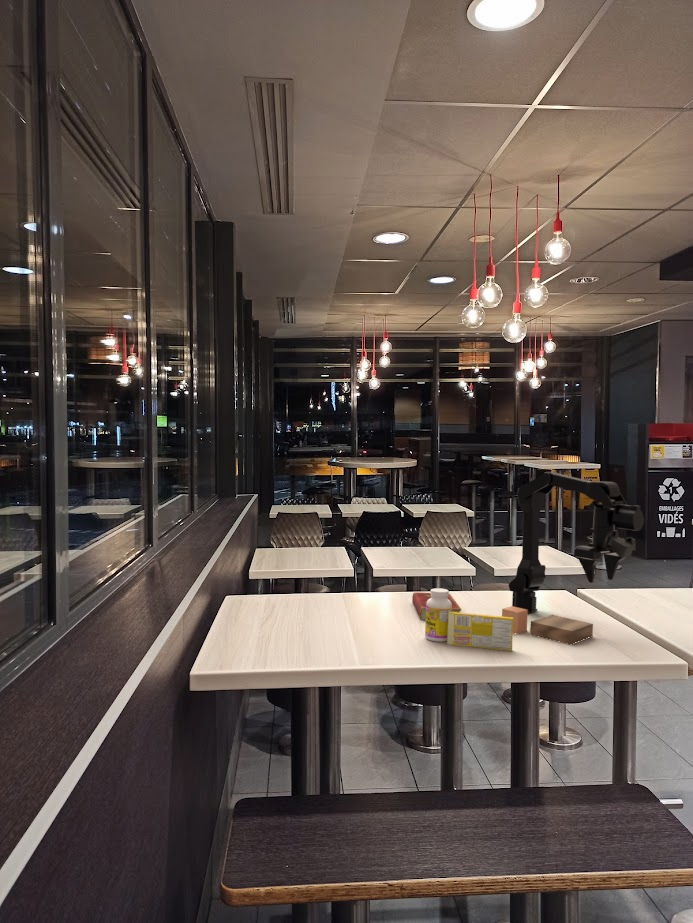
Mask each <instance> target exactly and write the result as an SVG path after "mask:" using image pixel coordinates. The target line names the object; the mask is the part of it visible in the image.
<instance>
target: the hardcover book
mask: <svg viewBox="0 0 693 923" xmlns="http://www.w3.org/2000/svg"><path fill="white" fill-rule="evenodd" d="M430 593H431V592H415V591H414V592H413V593H412V597H411V599H412V601H411V602H412V605H413V608H414V609H415V611H416V613H417V615H418V618H419V619H420V620H421V621H423V620H425V621H426V603H427V600H428V599H430V598H431V594H430ZM448 600H450V601H451V603H452V612H459V613H461V611H462V608H461V607H460V605H459V603H458V602H457V601H456V600H455V599H454V597H453V596H452V594H451V593H449V595H448Z"/></svg>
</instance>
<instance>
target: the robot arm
mask: <svg viewBox="0 0 693 923" xmlns="http://www.w3.org/2000/svg"><path fill="white" fill-rule="evenodd" d="M555 487H556V488H560V489H564V490H567V491H572V492H575V493H580V494H582V495H584V496H586V497H587V498H588V499H590V500H592V502H590V504H589V503H588V505H586V509H589V510H593V521H592V528H589V533H592V538H591V539H592V540H591V541H592V542H588V545H577V546H576V547H574V549H573V557H576V559H577V560H578V561H579V563H580V565H581V568H582V569H583V571H584V574H585V576H586V579H587V581H588V582H589V583H591V584H592V583H594V580H595V573H596V568H597V564H599V563H600V561H601V559H600V558H601V556H602V555H603V559H604V564H605V569H606V576H607V578H608V579H607V580H610V581H612V580H613V579H614V576H615V575H616V571H617V569H618V567H619V565H620V563H621V562H622V561H623V560H625V559H627V558H628V557H631V554H632V553H633V551H636V550H637V547H636V546H637V543H636V539H635V538H633V537H626V538H624V537H623V538H622V537H620V536H619V531H618V530H615V529H616V528H617V529H622V530H629V531H634V532H635V531H637V532H639V531H641V530H642V529H643V526H644V523H645V517H644V512H643V511H642V510H641V505H637V504H636V505H628V503H627V501H626V500H625V498H624V497H623V495H622V493H621V489H620V487H619V484H617V483H616V482H614V481H600V480H599V481H593V480H588V479H587V480H586V479H583V478H579V477H574V476H570V475H566V474H561V473H558V472H557V471H546V472H544V473H542V474H541V475H540V476H538V477H536V478H534V479H533V480H531V481H528V482H527V483H526V484H525V483H524V484H522V485H520V487H519V488H517V500H518V505H519V507H520V509H521V512H522V544H521V545H522V546H521V547H522V548H521V552H522V554H521V555H522V556H521V560H520V562H519V564H518V566H517V569H516V573H515V574H516V575H515V578H513V579H512V580H511V581H510V582H509V583H508V588H509V592H512V600H511V601H512V603H511V606H513V607H518V608H522V609H527V610H528V614H531V613H535V612H538V608H537V598H538V597H536V592H538V591H539V590H540V587H541V585H542V584H544V582H545V579H546V578H547V576H546V565H545V564H542V563H541V561H540V558H539V553H540V550H539V547H540V513H541V511H542V509H543V507H544V505H545V502H546V496H547V495H548V494H550V493H551V492H552V491H553V489H554V488H555ZM615 527H616V528H615Z"/></svg>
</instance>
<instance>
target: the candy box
mask: <svg viewBox="0 0 693 923" xmlns="http://www.w3.org/2000/svg"><path fill="white" fill-rule="evenodd" d="M513 634H514V633H513V617H502V615H491V614H490V615H489V614H488V615H487V614H481V613H480V614H479V613H477V614H476V613H470V612H469V613H467V612H460V613H459V612H449V613H448V636H447V641H446V644H447V645H453V646H461V647H471V648H479V649H485V650H486V649H487V650H488V649H489V650H494V651H495V650H497V651H504V652H505V651H506V652H512V651H513Z"/></svg>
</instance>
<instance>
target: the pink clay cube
mask: <svg viewBox="0 0 693 923" xmlns="http://www.w3.org/2000/svg"><path fill="white" fill-rule="evenodd" d="M528 614H529V613H528V610H527V609H522V608H518V607H513V606H512V605H511V606H509V607H508V606H507V607H505V608H501V616H502V617H513V634H515V633H516V635H518V633H519V634H522V633H525V632H527V631H528ZM524 631H525V632H524ZM521 632H522V633H521Z"/></svg>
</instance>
